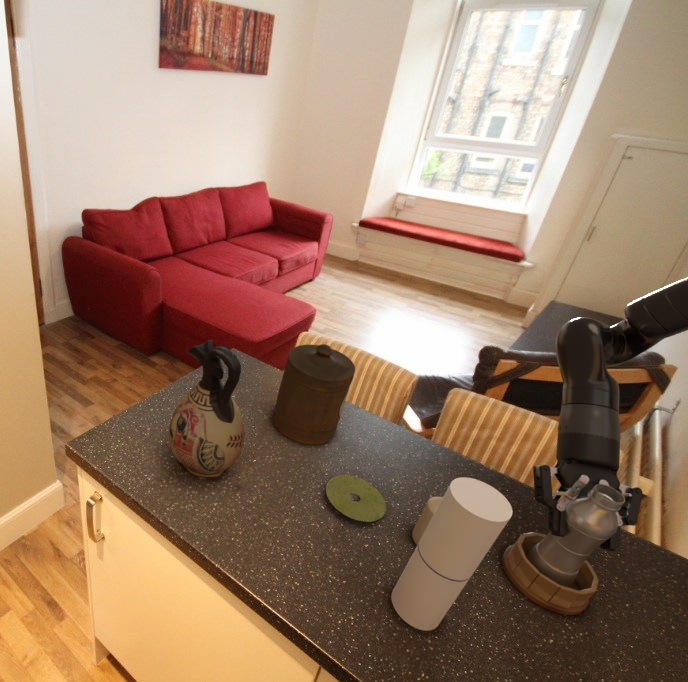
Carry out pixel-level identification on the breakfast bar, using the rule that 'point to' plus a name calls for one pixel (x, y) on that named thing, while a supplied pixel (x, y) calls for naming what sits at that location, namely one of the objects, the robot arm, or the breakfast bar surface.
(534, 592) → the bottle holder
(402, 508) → the breakfast bar surface
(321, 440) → the wooden container
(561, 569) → the silver metal bottle
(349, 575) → the breakfast bar surface
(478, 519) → the cylindrical container
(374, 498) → the mat
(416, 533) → the candle
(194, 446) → the ceramic jug
